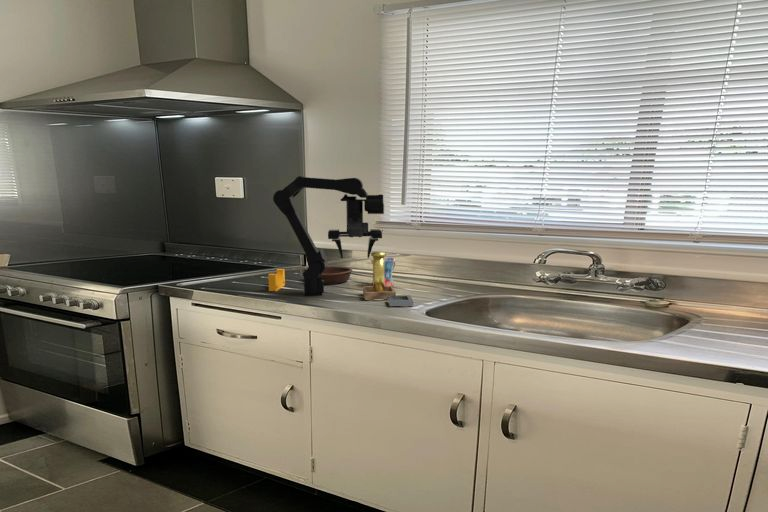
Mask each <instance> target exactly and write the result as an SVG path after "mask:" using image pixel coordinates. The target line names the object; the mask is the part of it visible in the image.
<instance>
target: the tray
mask: <svg viewBox="0 0 768 512" xmlns="http://www.w3.org/2000/svg"><path fill="white" fill-rule="evenodd" d="M362 295H363V298H364V299H365V300H374V299H387V296H397V293H396V289H395V288H394V285H393V286H384V292H373V285H364V286H362ZM364 299H363V300H364ZM365 300H364V301H365Z"/></svg>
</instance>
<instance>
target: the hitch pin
mask: <svg viewBox="0 0 768 512" xmlns="http://www.w3.org/2000/svg"><path fill="white" fill-rule="evenodd" d="M370 256H371V257H372V258H373V264H372V282H373V285H372V286H373V292H384V257H387V252H386V251H371V253H370Z"/></svg>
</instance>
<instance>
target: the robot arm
mask: <svg viewBox="0 0 768 512" xmlns="http://www.w3.org/2000/svg"><path fill="white" fill-rule="evenodd" d="M304 188H306V189H307V188H308V189H317V190H318V189H319V190H331V191H333V190H334V191H338V192H341V193H344V195H343V196H342V197H341V198H340V202H346V206H345V207H346V231H340V229H328V232H327V238H328V240H331V242H335V245H336V247H337V249H338V251H339V254H340V258H341V259H342V260H343V259H344V257H343V256H344V255H343V250H342V249H343V247H342V241H341V238H344V237H345V238H347V237H349V238H354V237H355V238H356V237H357V238H362V237H368V244H367V252H366V253H367V256H366V257H367V259H370V256H371V252H372V250H373V246H374V244H375V243H376V242H377V241H379V239H383V231H382V230H381V229H380V228H370V229H369V222H364V212H366V213H367V215H384V214H385V203H384V194H383V193H382V194H368V192H367V191H366V189H365V188H364V183H363V181H362V180H361V179H360V178H357V177H349V178H339V179H334V178H333V179H331V178H318V177H310V176H302V175H301V176H297V177H296V178H295V179H294V180H293V181H292V182H290V183H289V184H288V185H287V186H285V187H284V188H282V189H279V190H277V191H275V193H274V194H273V197H272V200H273V203H274V204H275V206H276V207H277V209H279V211H280V212H281V213H282V214H283V215H284V216H285V217H286V218H287V221H288V223H289V224H290V226H291V228H292V230H293V232H294V234H295V236H296V238H297V240H298V241H299V243H300V246H301V248H302V249H303V251H304V255H305V260H306V263H307V268H306V269H305V270H304V271H303V272H302V276H303V288H304V289H303V291H304V292H303V296H305V297H306V296H310V297H311V296H323V293H324V291H325V284H324V280H322V276H320V275H321V274H322V272H323V271H324V270H325V269H326V268H327V267H328V259H329V258H328V257H327V256H326V254H325V251H324V249H323V248H322V249H320V250H319V249H318V248H317V246H316V244H315V243H314V241H313V239H312V237H311V236H310V233H309V232H308V229H307V227H306V226H305V224H304V222H303V220H302V218H301V216H300V214H299V212H298V208H297V202H296V200H295V197H296V196H297V195H298V194H300V192H301V191H302V190H303V189H304ZM348 194H349V196H348ZM355 195H356V196H355ZM357 196H358V197H359V198H360V199H358V198H357ZM363 198H364V199H363Z"/></svg>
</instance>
